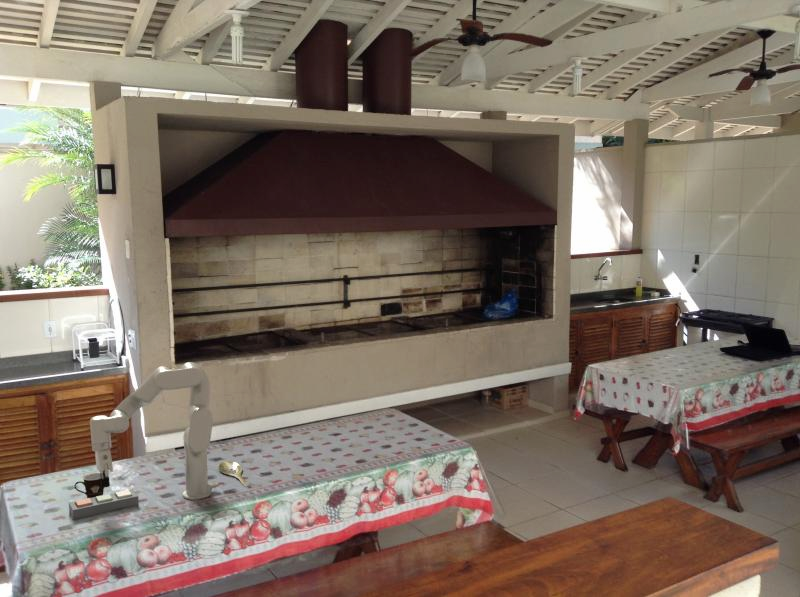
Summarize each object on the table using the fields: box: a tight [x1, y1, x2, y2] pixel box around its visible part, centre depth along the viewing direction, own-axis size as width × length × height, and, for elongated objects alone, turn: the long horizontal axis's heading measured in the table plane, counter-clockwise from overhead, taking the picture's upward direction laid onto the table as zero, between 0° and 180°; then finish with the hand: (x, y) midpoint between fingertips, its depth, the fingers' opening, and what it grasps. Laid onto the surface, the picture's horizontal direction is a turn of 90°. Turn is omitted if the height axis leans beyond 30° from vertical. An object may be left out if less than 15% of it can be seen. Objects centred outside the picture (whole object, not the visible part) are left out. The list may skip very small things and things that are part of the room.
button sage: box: [96, 493, 112, 503], centre depth 304 cm, size 5×5×4 cm
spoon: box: [217, 460, 248, 484], centre depth 342 cm, size 35×11×2 cm, turn 32°
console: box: [68, 488, 140, 521], centre depth 304 cm, size 26×9×4 cm, turn 124°
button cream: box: [114, 489, 132, 499], centre depth 308 cm, size 5×5×4 cm
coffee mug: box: [74, 472, 104, 499], centre depth 315 cm, size 12×9×10 cm
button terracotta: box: [75, 497, 92, 508], centre depth 299 cm, size 5×5×4 cm
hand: (105, 486), depth 303 cm, fingers closed
